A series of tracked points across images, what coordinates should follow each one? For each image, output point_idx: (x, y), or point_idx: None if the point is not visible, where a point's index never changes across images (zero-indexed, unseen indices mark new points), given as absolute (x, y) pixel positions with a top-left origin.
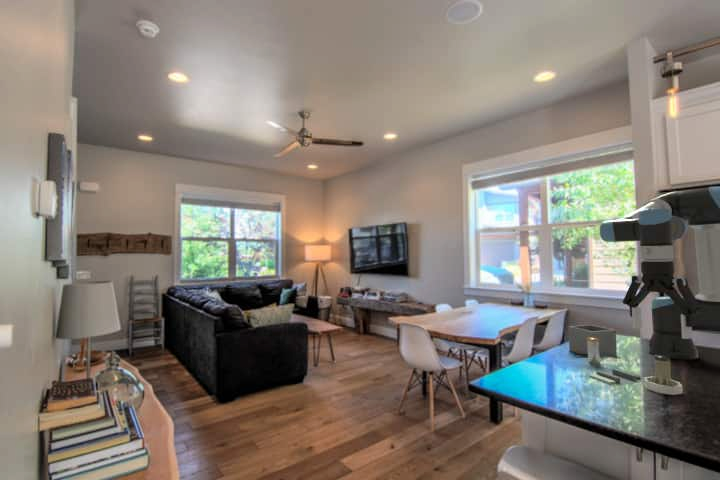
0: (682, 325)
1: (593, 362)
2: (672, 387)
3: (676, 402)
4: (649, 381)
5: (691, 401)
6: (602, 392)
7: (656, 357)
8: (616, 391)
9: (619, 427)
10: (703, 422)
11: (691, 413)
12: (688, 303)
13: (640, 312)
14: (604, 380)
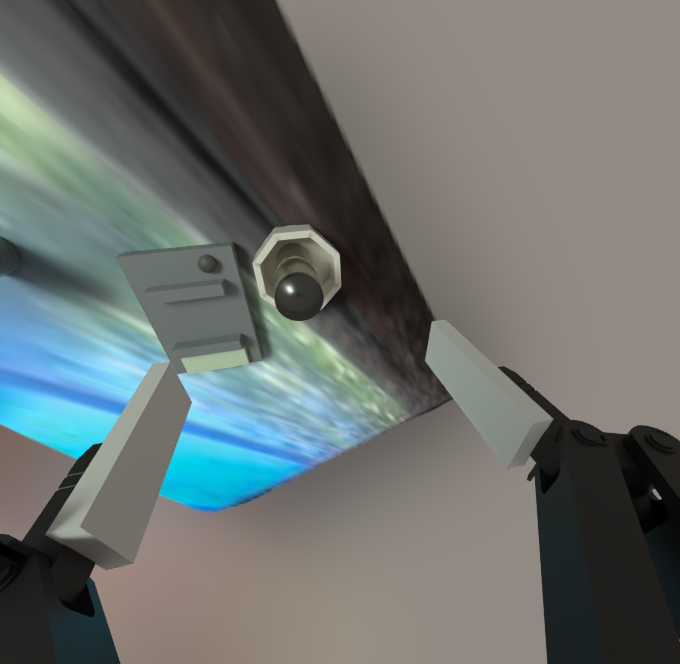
0: (466, 407)
1: (2, 274)
2: (339, 288)
3: (345, 281)
4: (263, 277)
5: (350, 241)
6: (267, 377)
7: (299, 320)
8: (265, 350)
9: (385, 425)
10: (420, 318)
11: (391, 304)
12: (658, 567)
13: (119, 468)
14: (234, 366)
